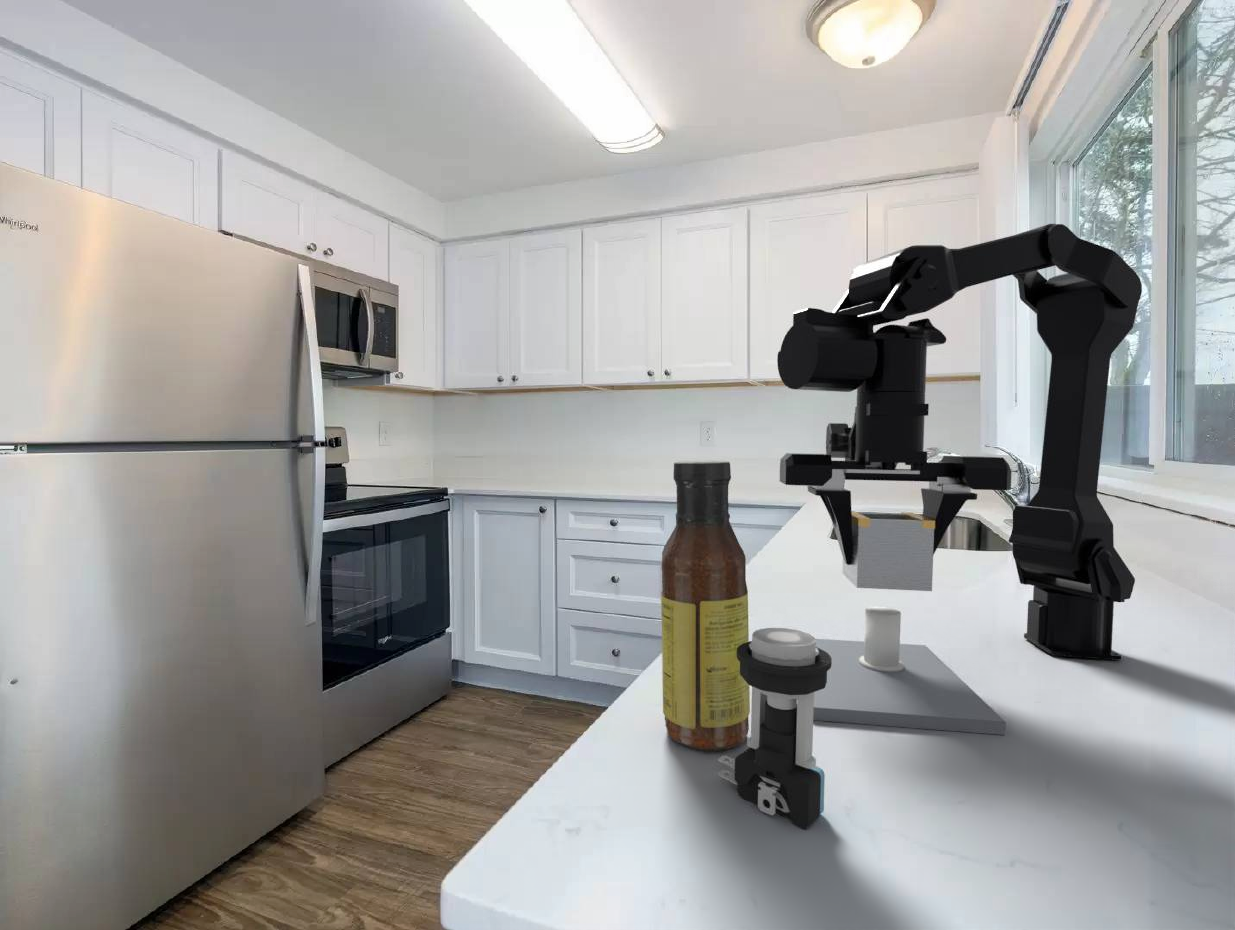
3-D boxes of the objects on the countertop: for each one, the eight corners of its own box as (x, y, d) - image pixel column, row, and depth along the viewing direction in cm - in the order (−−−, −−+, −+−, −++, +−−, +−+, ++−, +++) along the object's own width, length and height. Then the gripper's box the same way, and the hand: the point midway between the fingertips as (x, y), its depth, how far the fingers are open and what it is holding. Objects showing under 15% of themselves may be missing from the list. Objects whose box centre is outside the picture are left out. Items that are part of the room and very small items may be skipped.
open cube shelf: (932, 591, 55) (935, 520, 55) (856, 587, 56) (858, 518, 56) (910, 576, 61) (912, 512, 61) (841, 573, 62) (843, 510, 62)
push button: (696, 797, 38) (700, 631, 38) (742, 765, 42) (746, 614, 42) (801, 845, 34) (806, 658, 33) (842, 804, 38) (847, 636, 37)
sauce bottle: (754, 724, 48) (760, 460, 48) (742, 762, 42) (749, 463, 42) (669, 710, 50) (675, 458, 50) (647, 745, 45) (652, 460, 44)
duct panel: (924, 654, 65) (927, 596, 65) (1004, 735, 47) (1008, 654, 47) (783, 646, 67) (784, 589, 67) (808, 719, 49) (810, 642, 49)
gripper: (965, 400, 65) (959, 554, 65) (775, 399, 67) (772, 547, 68) (1017, 392, 54) (1010, 577, 54) (788, 391, 56) (784, 567, 57)
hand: (885, 565), depth 59 cm, fingers closed on open cube shelf, 6 cm apart
